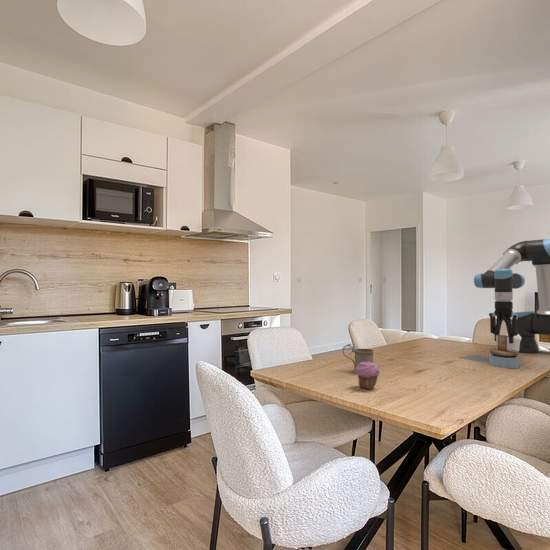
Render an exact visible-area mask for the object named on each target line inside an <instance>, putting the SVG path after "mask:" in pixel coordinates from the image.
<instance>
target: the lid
mask: <svg viewBox="0 0 550 550" xmlns="http://www.w3.org/2000/svg"><path fill="white" fill-rule="evenodd" d="M507 337H508V336H505V334H502V335H501V334H500V335H498V349H496V347H495V348H489V354H495V355H503V356H519V353H520V352H518V351H516V350H509V351H508V350H507Z"/></svg>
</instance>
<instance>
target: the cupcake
mask: <svg viewBox="0 0 550 550" xmlns="http://www.w3.org/2000/svg"><path fill="white" fill-rule="evenodd" d="M355 372H356V373H355V374H356V375H357V376H358V377H357V378H358V386H359V387H360V388H362V389H365V390H369V391H370V390H372V389H373V388H375V386H376V384H377V381H378V376H380V369H379V367H378V365H377V364H376V363H375V362H373V363H372V362H361V363H360V364H359V365H357V367H356V370H355Z"/></svg>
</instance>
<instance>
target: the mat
mask: <svg viewBox="0 0 550 550" xmlns="http://www.w3.org/2000/svg"><path fill="white" fill-rule="evenodd" d="M458 358H459V359H465V360H469V361H473V362H479V363H487V362H488V363H489V357H488V356H487V357H486V356H481V355H475V354H473V355H467V356H458Z"/></svg>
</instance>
